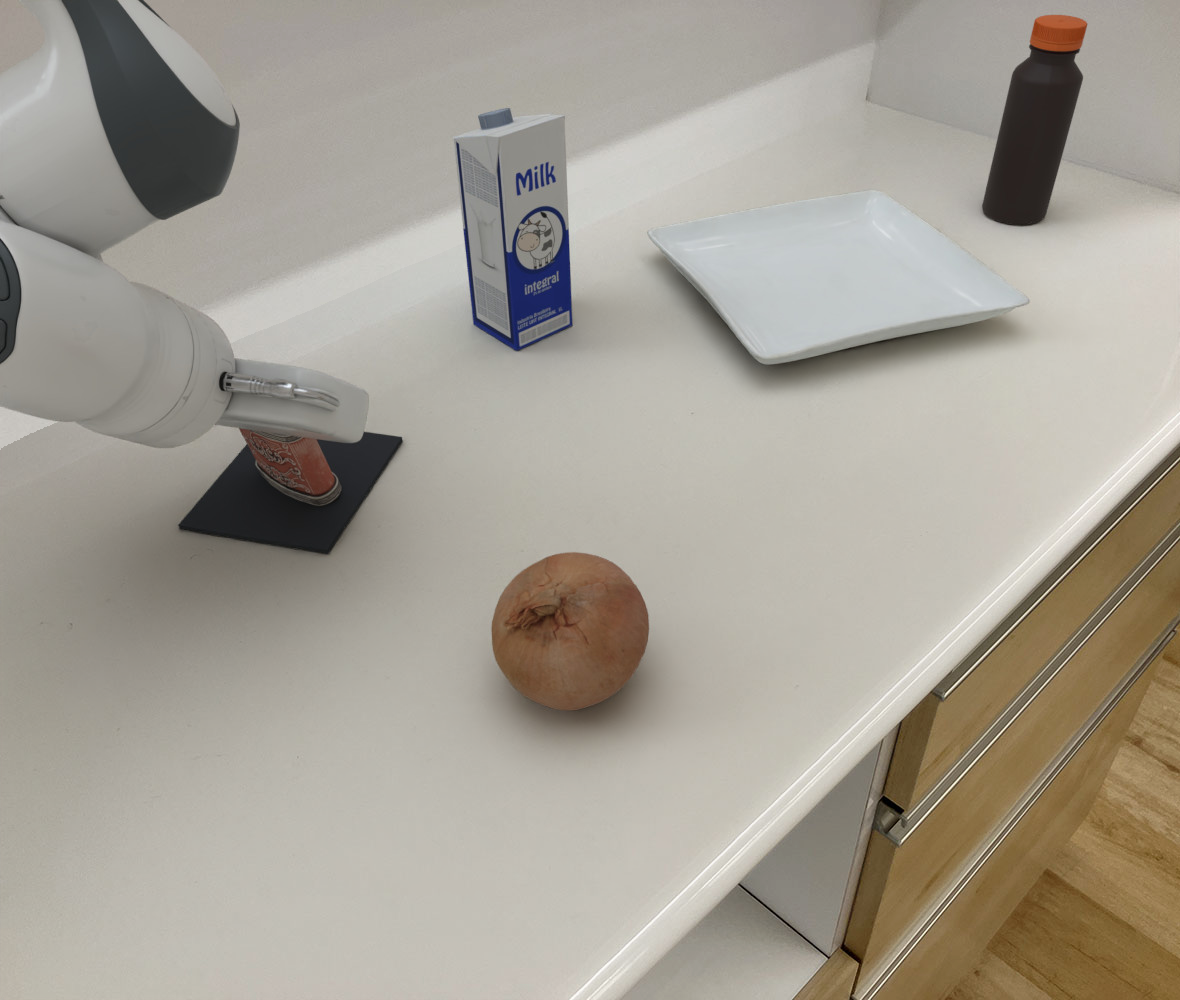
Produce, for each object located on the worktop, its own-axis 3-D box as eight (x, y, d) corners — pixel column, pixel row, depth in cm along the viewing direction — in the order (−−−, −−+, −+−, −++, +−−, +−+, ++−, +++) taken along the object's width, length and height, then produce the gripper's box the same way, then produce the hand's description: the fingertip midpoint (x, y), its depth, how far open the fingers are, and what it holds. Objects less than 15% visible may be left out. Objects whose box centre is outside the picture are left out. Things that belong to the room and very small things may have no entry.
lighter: (351, 483, 79) (307, 386, 72) (319, 513, 78) (270, 417, 70) (281, 446, 83) (232, 350, 76) (249, 474, 81) (196, 378, 74)
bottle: (993, 195, 119) (1037, 8, 107) (1053, 209, 116) (1106, 18, 104) (972, 216, 115) (1015, 24, 103) (1034, 231, 112) (1086, 35, 99)
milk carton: (515, 352, 95) (498, 134, 83) (471, 325, 99) (448, 113, 87) (574, 325, 99) (566, 112, 86) (529, 300, 103) (516, 92, 90)
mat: (179, 530, 77) (177, 525, 77) (269, 422, 88) (268, 418, 87) (328, 554, 75) (327, 549, 74) (403, 441, 85) (402, 436, 85)
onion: (553, 754, 65) (498, 711, 56) (500, 628, 69) (442, 570, 61) (689, 683, 64) (655, 628, 56) (627, 561, 69) (587, 494, 61)
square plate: (872, 217, 116) (877, 183, 113) (1026, 335, 96) (1037, 297, 93) (643, 257, 110) (643, 222, 107) (756, 393, 89) (759, 354, 87)
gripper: (324, 338, 60) (410, 389, 74) (19, 302, 64) (153, 356, 78) (304, 445, 60) (394, 476, 73) (-2, 402, 64) (137, 439, 77)
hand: (268, 414), depth 76 cm, fingers open, 8 cm apart
